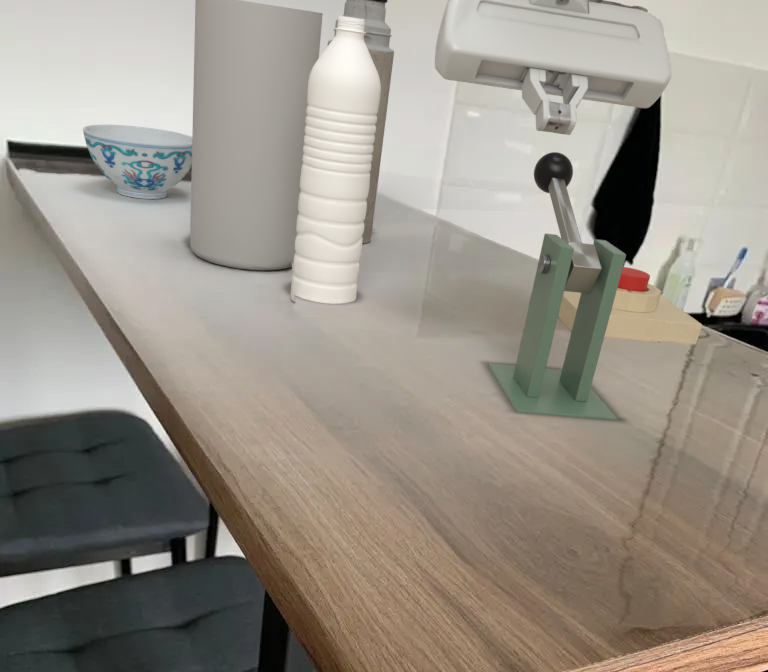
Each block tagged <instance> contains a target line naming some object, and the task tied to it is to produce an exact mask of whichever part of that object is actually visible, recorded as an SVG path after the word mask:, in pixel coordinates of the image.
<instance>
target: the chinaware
mask: <svg viewBox="0 0 768 672" xmlns="http://www.w3.org/2000/svg"><path fill="white" fill-rule="evenodd" d="M82 132H83V137H84V141H85V144H86V147H87V150H88V152H89V156H90V157H91V159H92V161H93V163H94V165H95V166H96V167H97V169H98V170H99V171H100V173H102V175H103V176H104V177H105V178H106V179H108V180H109V181H110V182H111V183H112V184H114V185H116V192H117V193H118V194H119V195H122V196H125V197H129V198H135V199H142V200H143V199H144V200H158V199H159V200H160V199H165V198H167V196H168V190H170V189H172V188H173V187H175V186H176V185H178V184H179V183H180V182H181V181H182V180H183V179H184V178H185V177H186V175H187V174H188V173H189V171H190V170H191V169H192V135H189V134H184V133H181V132H177V131H171V130H165V129H160V128H153V127H145V126H135V125H127V124H126V125H125V124H91V125H86V126H84V127H83V128H82Z"/></svg>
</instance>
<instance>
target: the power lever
mask: <svg viewBox="0 0 768 672" xmlns="http://www.w3.org/2000/svg"><path fill="white" fill-rule="evenodd" d="M573 175H574V168H573V164H572V162H571V160H570V159H569V157H567V156H566V155H565V154H564V153H561V152H557V151H552V152H548V153H545V154H544V155H543V156H542V157H540V158H539V159H538V160H537V162H536V164H535V166H534V169H533V180H534V182H535V184H536V186H537V187H538V188H539V190H541V191H542V192H544V193H547V194H549V196H550V201H551V204H552V207H553V211H554V215H555V220H556V223H557V227H558V231H559V234H560V235H559V236H560V238H561V239H563V240H564V241H565V242H566V243H568V244H569V245H570V246H572V247H573V248H574V252H573V256H572V260H571V265H570V269H569V273H568V277H567V281H566V286H565V290H564V291H569V292H578V293H588V294H590V293H591V291H592V289H593V287H594V284H595V282H596V280H597V278H598V276H599V274H600V272H601V269H602V268H601V265H600V261H599V258H598V254H597V251H596V248H595V245H593V243H583V242H582V239H581V234H580V231H579V227H578V224H577V220H576V217H575V213H574V210H573V205H572V203H571V199H570V195H569V192H568V188H567V187H568V186H569V185H570V184H571V182H572V179H573Z"/></svg>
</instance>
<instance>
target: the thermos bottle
mask: <svg viewBox="0 0 768 672" xmlns="http://www.w3.org/2000/svg"><path fill="white" fill-rule="evenodd" d="M386 3H388V0H346V1H345V3H344V9H343V15H342V16H344V17H351V18H357V19H363V20H365V29H364V31H363V32H366V33H364V42H365V44H366V46H367V49H368V51H369V53H370V56H371V58H372V60H373V63H374V65H375V67H376V70H377V72H378V75H379V78H380V84H381V94H380V102H379V108H378V113H377V114H376V116H377V122H376V124H375V126H376V131H375V133H374V136H375V140H374V143H373V146H374V149H373V152H372V161H371V171H370V172H369V173H370V185H369V193H368V197H367V198H366V201H367V210H366V216H365V220H364V232H363V234H362V238H363V241H362V245H363V243H364V244H368V243H370V242H371V240H372V233H373V227H374V217H375V210H376V209H375V208H376V203H377V193H378V186H379V185H378V184H379V179H380V170H381V161H382V152H383V146H384V137H385V131H386V130H385V129H386V122H387V121H386V120H387V115H388V114H387V112H388V104H389V97H390V89H391V79H392V74H393V66H394V56H395V51H394V50H393V49H392V48H391V47H390V41H391V37H392V33H391V32H392V28H391V27H390V26H389V25H388V24H387V23H386V15H387V14H386V13H387V9H386ZM337 25H338V18H337V19H336V20H335V24H334V28H333V32H334V35H333V36H334V37H335V35H336V29H335V28H338V27H337ZM334 37H333V38H334ZM332 40H333V39H329V40H328V41H327V46H328V45H329V44H330V42H331V41H332Z"/></svg>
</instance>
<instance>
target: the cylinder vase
mask: <svg viewBox="0 0 768 672" xmlns="http://www.w3.org/2000/svg"><path fill="white" fill-rule="evenodd" d="M194 2H195V3H194V11H195V12H194V44H193V45H194V46H193V48H194V50H193V52H194V53H193V88H192V89H193V92H192V93H193V94H192V95H193V97H192V98H193V99H192V130H191V131H192V132H191V133H192V135H191V137H192V166H191V179H190V180H191V181H190V222H189V223H190V224H189V226H190V227H189V228H190V229H189V247H190V249H191V251H192V252H193V253H194V255H195V256H196V257H198V258H200V259H202V260H204V261H206V262H209V263H212V264H215V265H219V266H223V267H228V268H232V269H239V270H248V271H249V270H250V271H278V270H279V271H280V270H284V269H289V268H293V261H294V255H295V253H296V251H295V239H296V236H297V232H296V225H297V217H298V214H299V211H298V200H299V194H300V192H301V189H300V176H301V168H302V164H303V161H302V157H303V154H304V152H303V146H304V145H305V143H304V136H305V135H306V133H305V126H306V121H305V120H306V116H307V113H306V109H307V106H308V103H307V95H308V81H309V76H310V73H311V70H312V68H313V66H314V64H315V63H316V61H317V60H318V59H319V57H320V48H321V37H322V27H323V15H324V14H323V13H322V12H318V11H317V12H316V11H311V10H306V9H305V10H304V9H298V8H292V7H285V6H279V5H273V4H266V3H261V2H254V1H247V0H195V1H194Z"/></svg>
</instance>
